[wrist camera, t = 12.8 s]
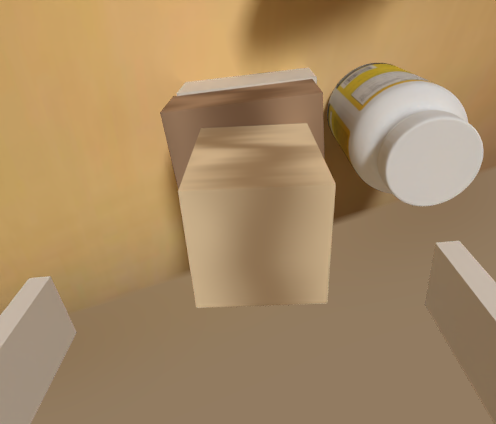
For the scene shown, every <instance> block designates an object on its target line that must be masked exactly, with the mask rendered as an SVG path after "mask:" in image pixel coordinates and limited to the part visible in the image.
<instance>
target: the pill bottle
mask: <svg viewBox="0 0 496 424" xmlns="http://www.w3.org/2000/svg"><path fill="white" fill-rule="evenodd" d="M327 118H328V124H329V127H330V129H331V132H332V134H333V135H334V137H335V139H336V140H337V142H338V143H339V145H340V147H341V148H342V150H343V152H344V153H345V155H346V157H347V158H348V160H349V161H350V163H351V165H352V166H353V168H354V169H355V171H356V172H357V174H358V175H359V176H360V177H361V179H362V180H363V181H364V182H366V183H367V184H368V185H370V186H371V187H373V188H375V189H377V190H379V191H382V192H386V193H391V194H393V195H394V196H395V197H397V198H398V199H399V200H401V201H403V202H405V203H407V204H411V205H415V206H432V205H437V204H440V203H443V202H446V201H448V200H450V199H452V198H453V197H455V196H456V195H458V194H459V193H461V192H462V191H463V190H464V189H466V187H468V185H469V184H470V183H471V182H472V181H473V179H474V178H475V177H476V175H477V173H478V171H479V169H480V166H481V163H482V159H483V144H482V140H481V138H480V136H479V134H478V132H477V131H476V129H475V128H474V127H473V126H472V125H470V124H469V123H468V119H467V115H466V112H465V110H464V108H463V106H462V104H461V102H460V101H459V100H458V99H457V98H456V96H455V95H453V94H452V93H451V92H450V91H448V90H447V89H445V88H443V87H441V86H439V85H437V84H435V83H433V82H430V81H428V80H426V79H424V78H421V77H419V76H417V75H414V74H412V73H410V72H408V71H405V70H403V69H401V68H398V67H396V66H393V65H390V64H386V63H371V64H366V65H363V66H360V67H358V68H356V69H354V70H352V71H351V72H349V73H348V74H347V75H346V76H344V77H343V78H342V79H341V80H340V82H339V83H338V84H337V85H336V87H335V89H334V90H333V92H332V94H331V97H330V100H329V103H328V109H327Z"/></svg>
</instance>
